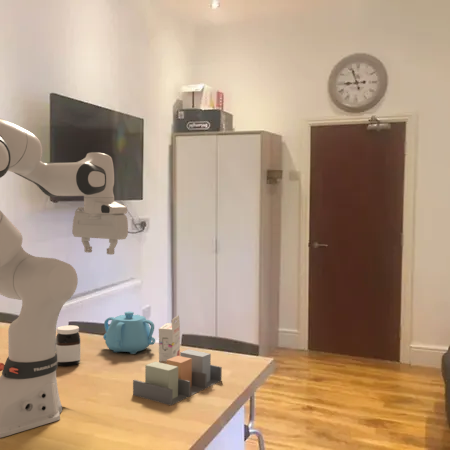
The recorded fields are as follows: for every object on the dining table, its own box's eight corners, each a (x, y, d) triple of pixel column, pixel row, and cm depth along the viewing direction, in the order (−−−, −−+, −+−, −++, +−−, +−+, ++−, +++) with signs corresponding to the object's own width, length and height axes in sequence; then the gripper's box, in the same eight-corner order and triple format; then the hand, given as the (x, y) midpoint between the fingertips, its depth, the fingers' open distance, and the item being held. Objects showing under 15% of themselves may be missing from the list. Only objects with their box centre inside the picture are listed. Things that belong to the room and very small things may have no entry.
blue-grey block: (202, 384, 154) (202, 356, 153) (180, 379, 158) (180, 352, 158) (210, 380, 157) (210, 353, 157) (188, 375, 161) (188, 349, 161)
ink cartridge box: (166, 356, 185) (166, 313, 184) (180, 357, 184) (180, 314, 183) (157, 363, 176) (158, 319, 176) (172, 365, 175) (172, 320, 175)
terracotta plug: (180, 391, 148) (180, 362, 148) (166, 388, 151) (166, 359, 150) (191, 386, 152) (191, 358, 152) (177, 383, 155) (177, 355, 154)
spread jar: (82, 366, 173) (82, 330, 172) (44, 370, 169) (44, 333, 168) (77, 356, 184) (77, 322, 184) (42, 359, 180) (42, 324, 179)
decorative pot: (145, 342, 203) (146, 306, 203) (157, 353, 188) (157, 314, 188) (102, 346, 197) (102, 309, 196) (110, 358, 182) (110, 318, 182)
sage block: (168, 400, 141) (168, 370, 141) (145, 394, 145) (145, 365, 145) (178, 396, 144) (178, 366, 144) (155, 390, 149) (155, 361, 148)
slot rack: (170, 409, 138) (171, 389, 138) (133, 398, 145) (133, 380, 145) (221, 383, 158) (221, 367, 157) (185, 375, 165) (186, 359, 164)
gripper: (67, 206, 165) (67, 252, 166) (116, 208, 154) (116, 256, 155) (83, 206, 170) (83, 250, 171) (131, 207, 159) (131, 254, 160)
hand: (99, 253), depth 163 cm, fingers open, 8 cm apart
